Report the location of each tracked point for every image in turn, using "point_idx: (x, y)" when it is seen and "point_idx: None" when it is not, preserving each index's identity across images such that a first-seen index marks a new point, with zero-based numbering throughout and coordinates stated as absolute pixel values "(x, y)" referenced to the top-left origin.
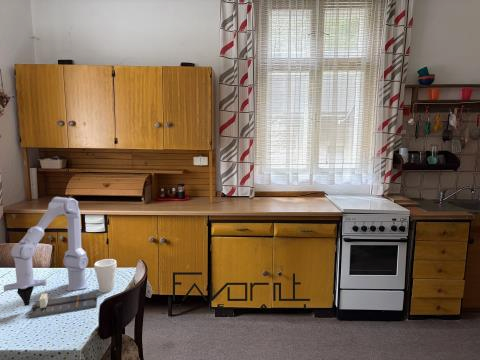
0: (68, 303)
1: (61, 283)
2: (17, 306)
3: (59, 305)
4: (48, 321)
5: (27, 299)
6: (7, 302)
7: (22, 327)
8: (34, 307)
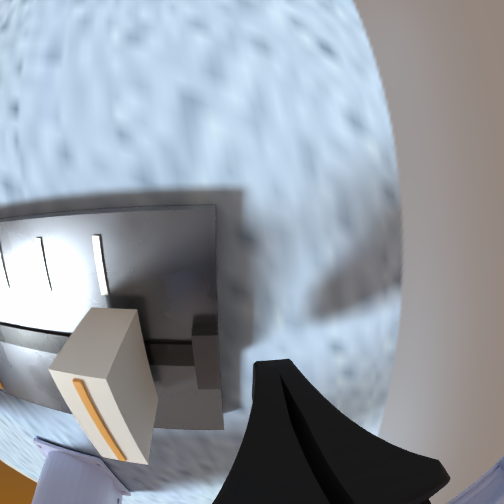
0: None
1: (165, 499)
2: None
3: (22, 310)
4: (59, 95)
5: (272, 411)
6: None
7: (253, 50)
8: (196, 336)
